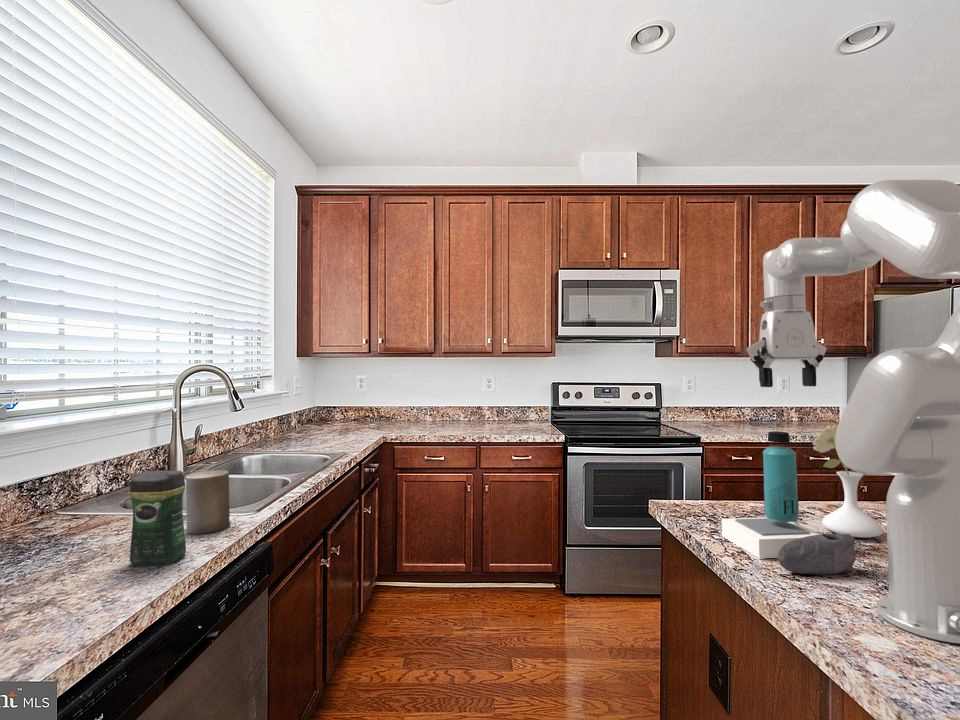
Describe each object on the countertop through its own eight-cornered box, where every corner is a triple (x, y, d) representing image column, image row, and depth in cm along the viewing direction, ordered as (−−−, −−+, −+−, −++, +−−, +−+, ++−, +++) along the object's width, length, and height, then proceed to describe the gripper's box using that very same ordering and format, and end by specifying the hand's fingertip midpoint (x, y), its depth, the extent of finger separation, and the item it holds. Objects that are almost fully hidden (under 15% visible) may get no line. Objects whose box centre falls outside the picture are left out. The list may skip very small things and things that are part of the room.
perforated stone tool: (787, 579, 90) (786, 540, 91) (769, 568, 96) (768, 531, 96) (868, 577, 91) (867, 539, 91) (846, 566, 96) (845, 529, 96)
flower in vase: (861, 526, 119) (858, 421, 120) (896, 542, 108) (892, 427, 108) (804, 525, 120) (801, 421, 121) (832, 541, 109) (829, 427, 110)
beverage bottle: (784, 531, 103) (781, 434, 104) (756, 522, 110) (754, 430, 110) (807, 527, 106) (804, 432, 106) (778, 518, 112) (776, 429, 112)
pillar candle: (238, 523, 129) (237, 465, 130) (209, 535, 120) (208, 472, 120) (207, 522, 132) (206, 464, 132) (176, 533, 122) (175, 472, 123)
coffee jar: (192, 552, 109) (192, 466, 109) (169, 567, 101) (169, 474, 101) (148, 553, 109) (148, 467, 109) (121, 567, 101) (121, 475, 101)
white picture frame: (826, 557, 100) (826, 535, 101) (759, 559, 100) (758, 537, 100) (781, 534, 114) (781, 515, 115) (722, 536, 114) (721, 516, 114)
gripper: (757, 304, 102) (760, 387, 102) (836, 303, 104) (840, 386, 103) (735, 309, 110) (738, 387, 109) (809, 309, 111) (813, 385, 111)
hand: (788, 386), depth 106 cm, fingers open, 9 cm apart
